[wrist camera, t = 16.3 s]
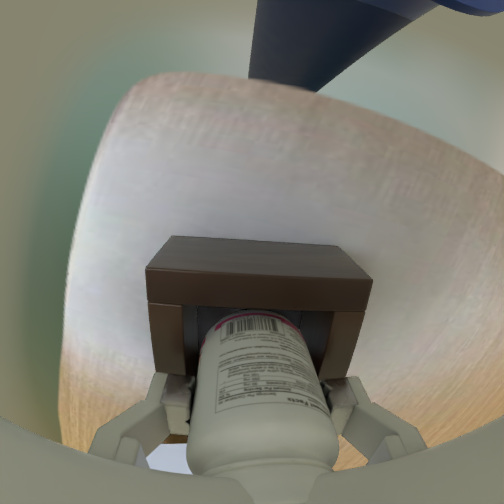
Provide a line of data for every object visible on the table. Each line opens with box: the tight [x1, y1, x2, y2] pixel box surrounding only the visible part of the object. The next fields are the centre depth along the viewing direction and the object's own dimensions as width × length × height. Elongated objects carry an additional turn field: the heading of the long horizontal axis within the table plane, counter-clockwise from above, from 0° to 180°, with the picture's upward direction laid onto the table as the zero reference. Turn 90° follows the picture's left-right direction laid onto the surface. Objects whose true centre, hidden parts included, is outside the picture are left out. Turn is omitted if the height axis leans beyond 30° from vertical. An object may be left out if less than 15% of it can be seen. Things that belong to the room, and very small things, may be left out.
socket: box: [145, 236, 373, 388], centre depth 14 cm, size 9×9×4 cm
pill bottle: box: [186, 309, 339, 504], centre depth 9 cm, size 5×5×8 cm
